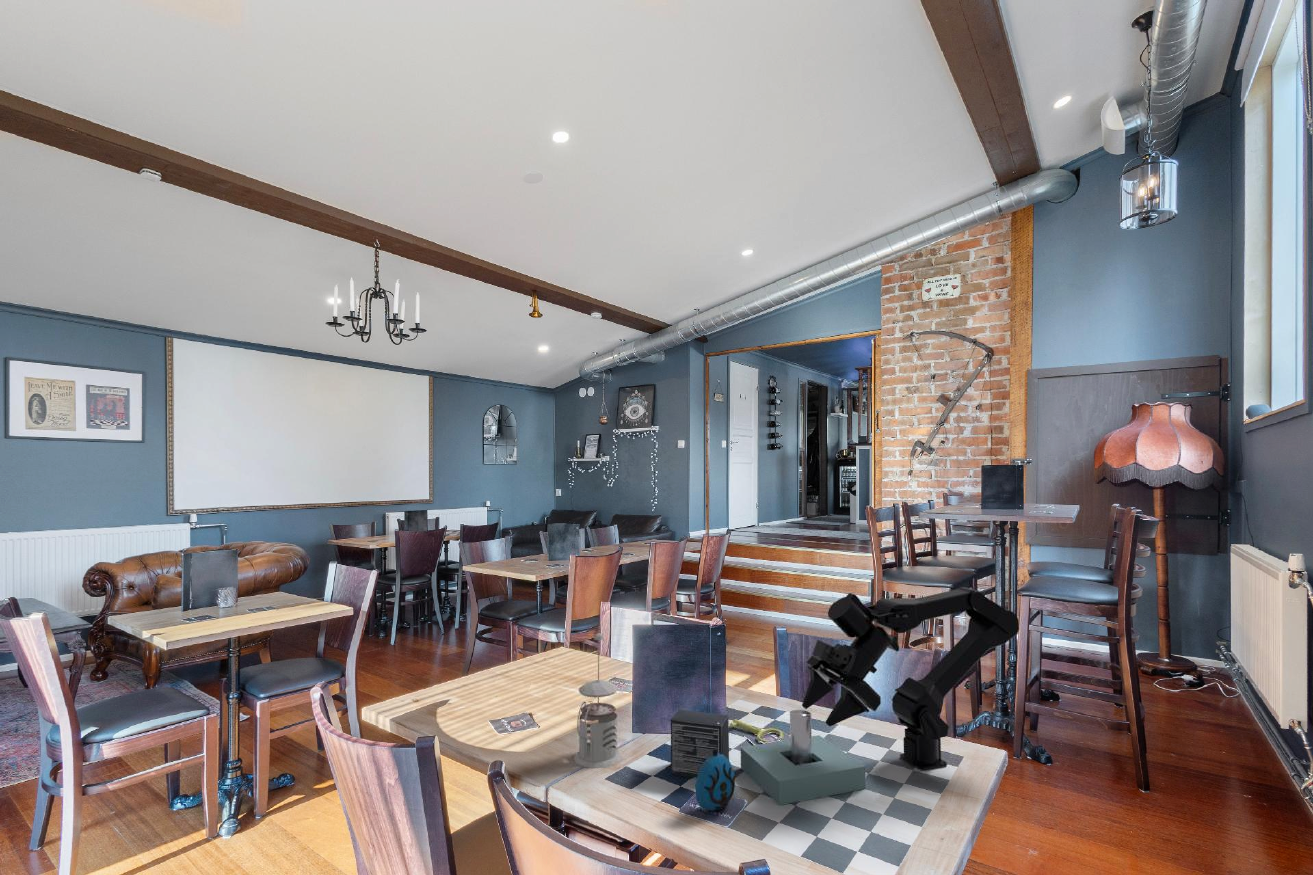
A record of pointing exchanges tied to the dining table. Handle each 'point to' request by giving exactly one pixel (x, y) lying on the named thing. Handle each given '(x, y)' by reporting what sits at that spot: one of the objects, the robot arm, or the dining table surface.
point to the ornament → (715, 782)
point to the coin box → (802, 771)
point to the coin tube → (800, 737)
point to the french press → (597, 725)
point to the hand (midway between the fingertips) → (815, 715)
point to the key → (755, 730)
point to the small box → (696, 740)
